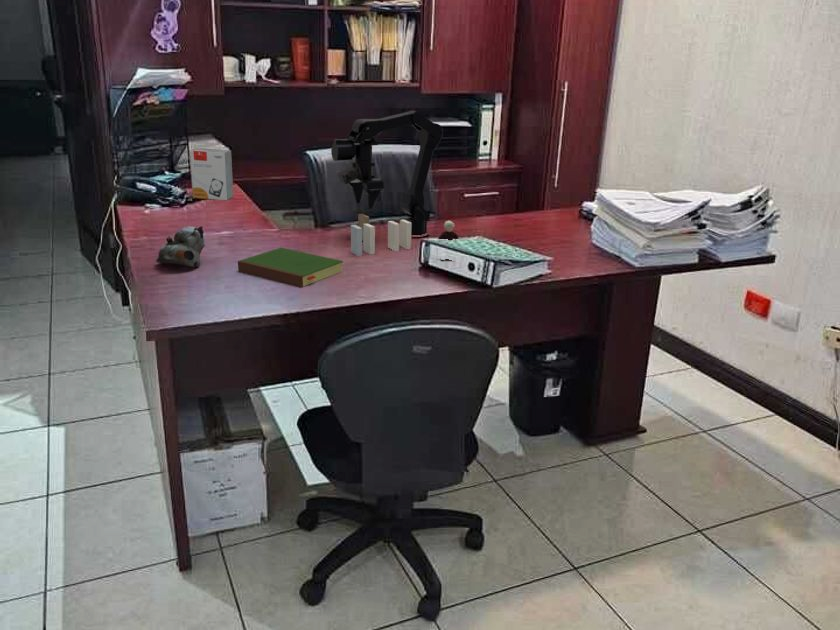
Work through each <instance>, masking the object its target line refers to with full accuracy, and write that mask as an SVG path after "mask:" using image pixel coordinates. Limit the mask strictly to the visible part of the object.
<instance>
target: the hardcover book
mask: <svg viewBox="0 0 840 630" xmlns="http://www.w3.org/2000/svg"><path fill="white" fill-rule="evenodd" d="M343 262H344V261H343V260H339V259H336V258H331V257H325V256H322V255H321V256H320V255H316V254H313V253H308V252H304V251H300V250H299V251H298V250H295V249H290V248H285V247H279V248H275V249H272V250H269V251H266V252H263V253H262V252H261V253H259V254H256V255H254V256H253V255H252V256H251V257H250V256H249V257H247V258H243V259H240V260H238V261H237V267H238V268H237V270H238V271H239V272H238V271H237V272H238V273H241V272H243V273H242V274H245V273H247V274H246V275H249V274H250V275H249V276H253V275H254V277H257V276H258V278H261V277H262V278H261V279H266V280H269V281H273V282H277V283H278V282H279V283H283V284H286V285H290V286H294V287H299V288H304V287H306V286H308V285H311V284H313V283H317V282H319V281H321V280H324V279H326V278H328V277H332V276H334V275H336V274H339V273H341V272H343V265H342V264H343Z"/></svg>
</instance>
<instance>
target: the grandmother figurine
mask: <svg viewBox="0 0 840 630" xmlns="http://www.w3.org/2000/svg"><path fill="white" fill-rule="evenodd" d="M443 228H444V230H445V231H443V232H442V233H441V234H440V235H439V237H438V238H437V240H438V239H448V240H453V241H454V240H456V239H459V240H460V238H459V237H460V236H459V235H458V234H457V233H456V232H454V231H453V229H454V228H455V223H454V222H453V221H451V220H446V221H445V222H444V224H443Z"/></svg>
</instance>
